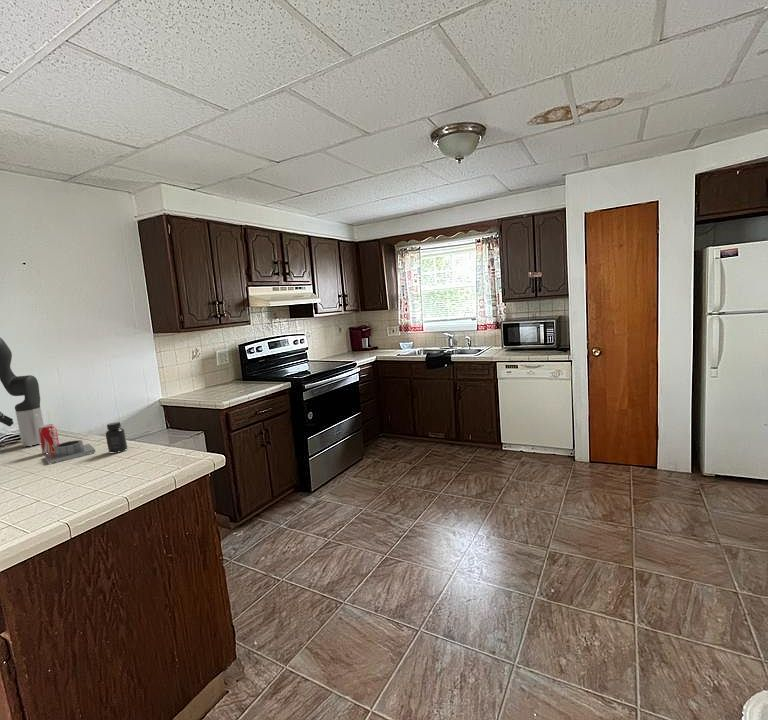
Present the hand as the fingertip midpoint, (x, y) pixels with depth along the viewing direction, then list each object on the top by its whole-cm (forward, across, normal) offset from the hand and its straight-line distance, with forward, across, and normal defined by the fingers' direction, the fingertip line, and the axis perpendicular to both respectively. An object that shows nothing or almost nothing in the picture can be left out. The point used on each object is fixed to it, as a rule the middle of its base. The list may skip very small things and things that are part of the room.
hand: (11, 423), depth 181 cm
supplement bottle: (+34, -29, -10) cm, 46 cm away
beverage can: (+19, 0, +4) cm, 20 cm away
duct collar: (+23, -15, 0) cm, 27 cm away
